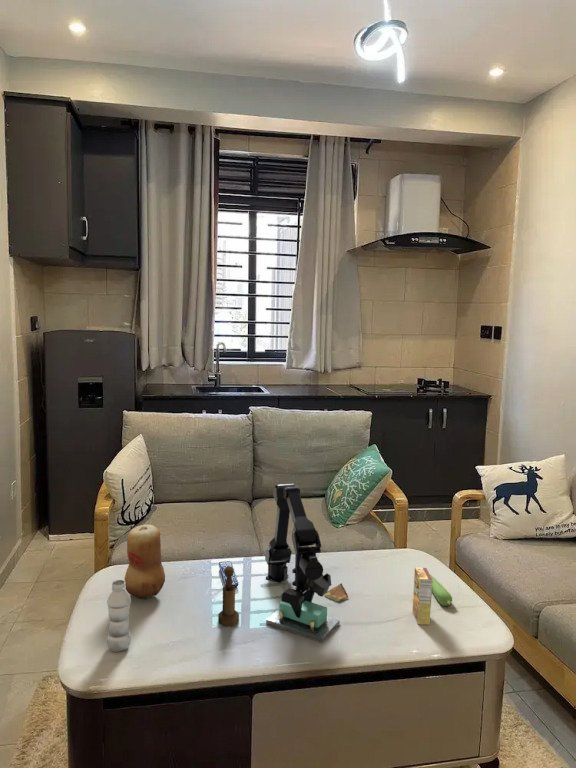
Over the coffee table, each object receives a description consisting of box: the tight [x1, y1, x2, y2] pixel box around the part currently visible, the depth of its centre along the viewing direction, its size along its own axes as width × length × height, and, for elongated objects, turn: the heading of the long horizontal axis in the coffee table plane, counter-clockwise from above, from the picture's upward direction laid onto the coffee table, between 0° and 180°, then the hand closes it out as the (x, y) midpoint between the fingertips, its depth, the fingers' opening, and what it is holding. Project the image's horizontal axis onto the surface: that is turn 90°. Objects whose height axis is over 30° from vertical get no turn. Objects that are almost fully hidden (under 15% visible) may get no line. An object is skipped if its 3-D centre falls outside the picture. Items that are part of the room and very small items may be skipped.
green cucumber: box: [430, 574, 453, 607], centre depth 201 cm, size 5×20×5 cm
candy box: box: [412, 567, 433, 626], centre depth 185 cm, size 9×4×15 cm, turn 0°
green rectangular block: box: [278, 600, 328, 628], centre depth 180 cm, size 14×6×4 cm, turn 58°
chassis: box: [265, 608, 340, 643], centre depth 180 cm, size 20×12×4 cm, turn 60°
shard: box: [323, 583, 349, 602], centre depth 201 cm, size 11×8×2 cm
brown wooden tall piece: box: [217, 566, 240, 627], centre depth 180 cm, size 7×6×18 cm
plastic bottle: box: [106, 579, 132, 653], centre depth 164 cm, size 6×7×20 cm
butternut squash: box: [124, 524, 166, 600], centre depth 195 cm, size 14×13×25 cm
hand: (303, 613), depth 180 cm, fingers closed on green rectangular block, 6 cm apart
